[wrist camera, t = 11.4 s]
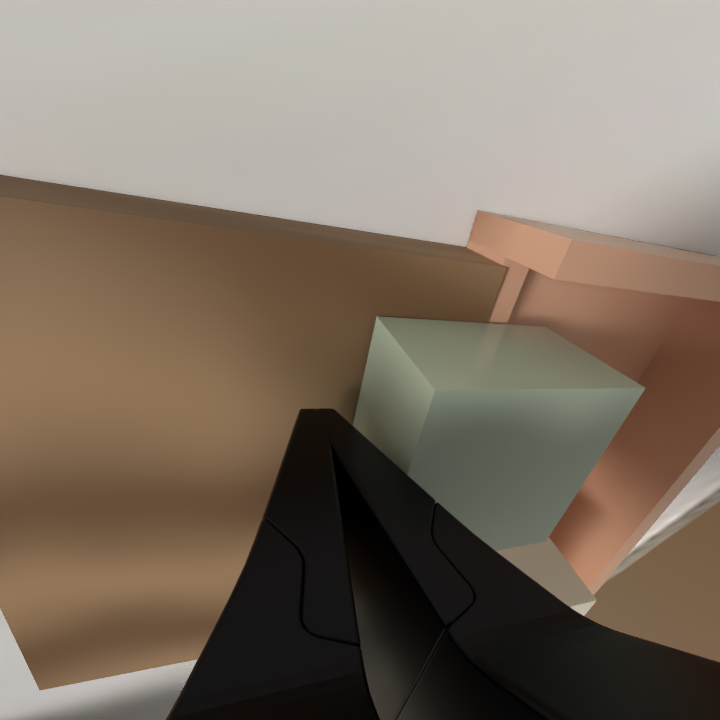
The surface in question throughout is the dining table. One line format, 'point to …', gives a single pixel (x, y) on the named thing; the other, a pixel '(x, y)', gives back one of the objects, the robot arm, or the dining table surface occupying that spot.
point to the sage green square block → (491, 419)
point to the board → (171, 401)
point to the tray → (620, 365)
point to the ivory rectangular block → (551, 573)
